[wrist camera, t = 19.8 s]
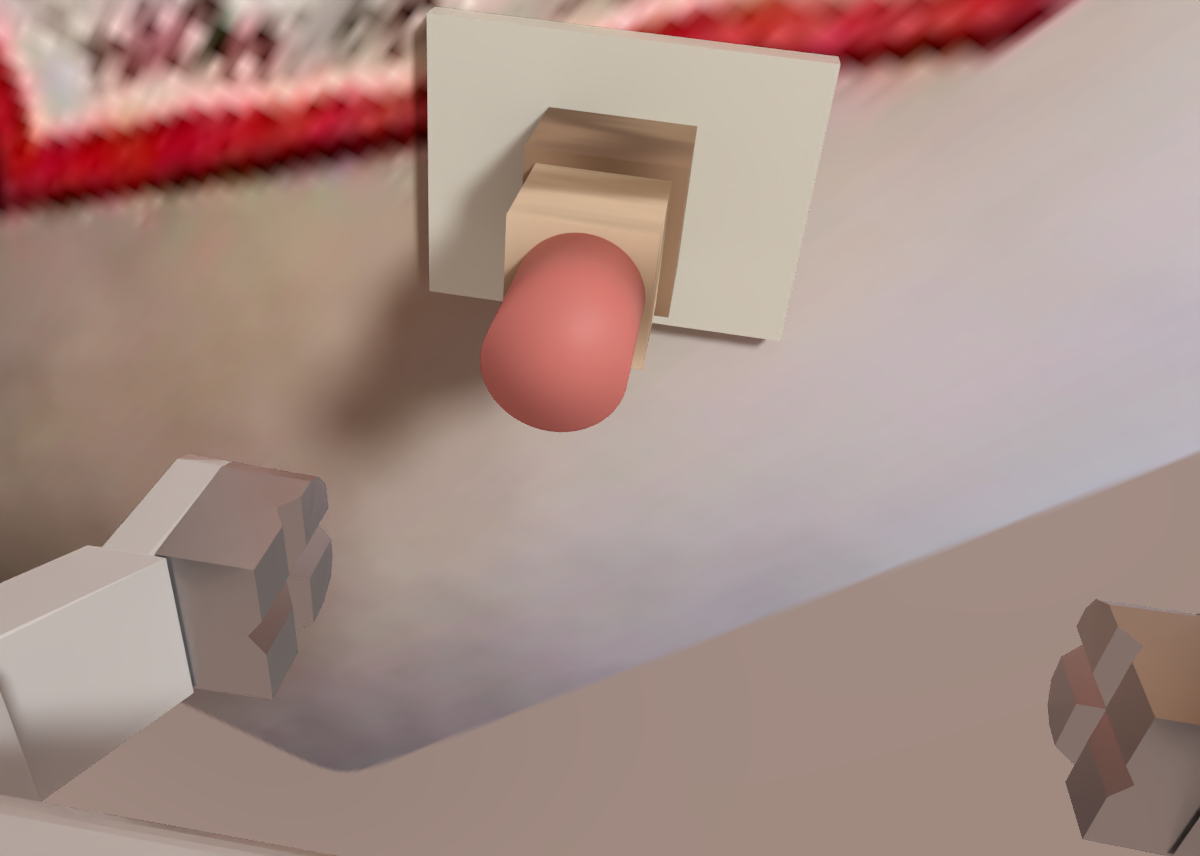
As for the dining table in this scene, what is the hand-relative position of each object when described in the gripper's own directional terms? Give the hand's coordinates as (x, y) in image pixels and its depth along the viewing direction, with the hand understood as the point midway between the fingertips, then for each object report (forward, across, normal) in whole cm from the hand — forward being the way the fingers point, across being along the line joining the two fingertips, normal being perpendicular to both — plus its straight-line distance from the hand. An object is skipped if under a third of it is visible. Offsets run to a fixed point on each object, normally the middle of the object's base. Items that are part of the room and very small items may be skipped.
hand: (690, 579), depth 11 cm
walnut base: (+32, +4, +8) cm, 33 cm away
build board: (+33, +4, +8) cm, 34 cm away
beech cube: (+27, +4, +8) cm, 28 cm away
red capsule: (+22, +4, +8) cm, 24 cm away
